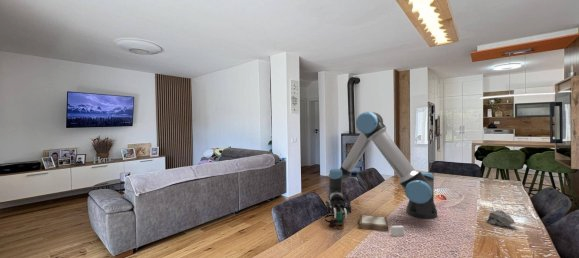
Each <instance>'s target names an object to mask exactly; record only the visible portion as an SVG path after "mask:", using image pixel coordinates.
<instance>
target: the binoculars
mask: <svg viewBox="0 0 579 258" xmlns="http://www.w3.org/2000/svg"><path fill="white" fill-rule="evenodd" d="M330 217H331V218H332V217H334V214H328V215H325V216H324V221H325V222H326V223H328V228H330V229H331V228H332V229H333V228H337V229H340V230H344V225H345V222H344V217H345V214H344V212H343V210H342V208H341V203H337V207H336V218H335V217H334V219H330V220H328V219H326V218H330Z"/></svg>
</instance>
